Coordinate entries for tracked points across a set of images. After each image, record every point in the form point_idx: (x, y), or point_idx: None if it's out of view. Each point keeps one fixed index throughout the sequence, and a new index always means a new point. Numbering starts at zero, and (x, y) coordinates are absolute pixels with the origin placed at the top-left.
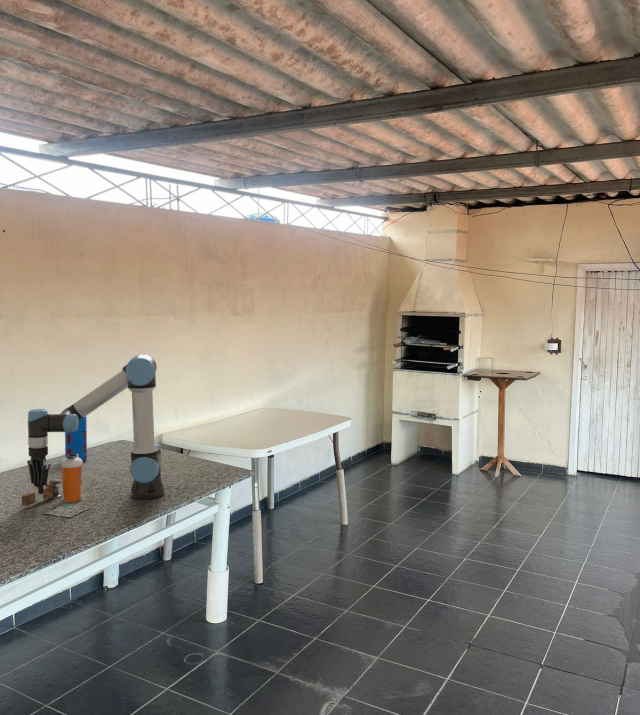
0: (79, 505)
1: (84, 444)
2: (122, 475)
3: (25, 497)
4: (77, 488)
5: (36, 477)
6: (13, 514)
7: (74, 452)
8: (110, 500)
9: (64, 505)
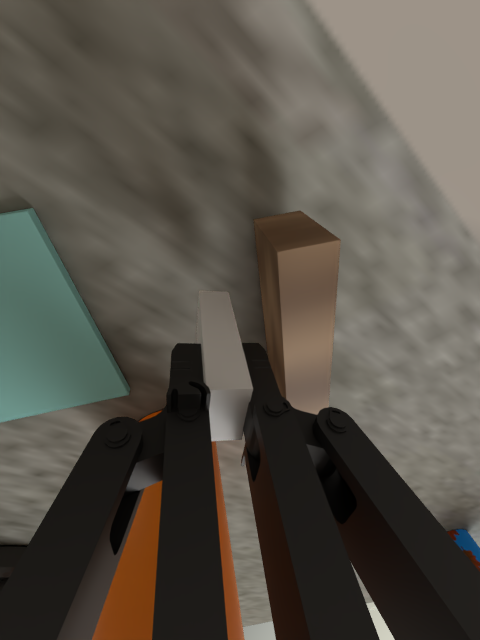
0: (24, 416)
1: None
2: (251, 566)
3: (283, 242)
4: None
5: (277, 532)
6: (251, 51)
7: None
8: (26, 502)
9: (93, 377)
